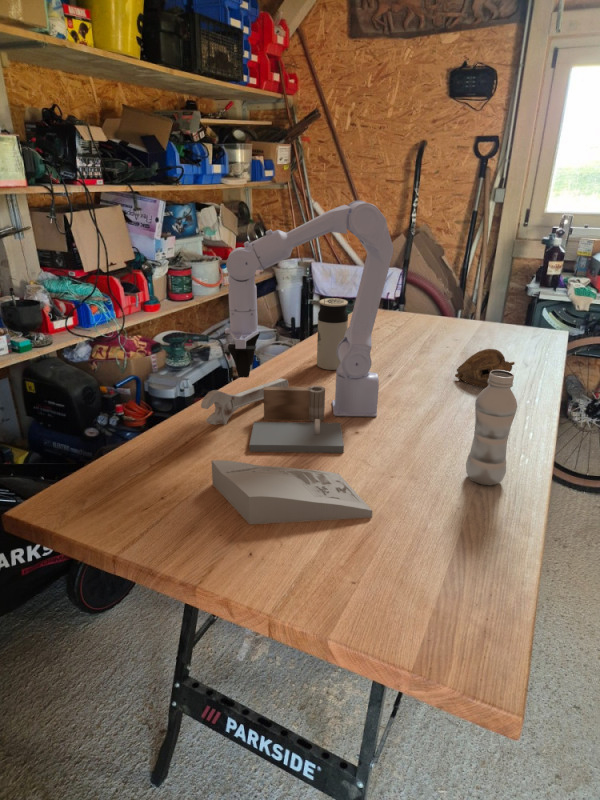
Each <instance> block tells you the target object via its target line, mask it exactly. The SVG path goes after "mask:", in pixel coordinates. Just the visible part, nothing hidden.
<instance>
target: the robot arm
mask: <svg viewBox="0 0 600 800" xmlns="http://www.w3.org/2000/svg"><path fill="white" fill-rule="evenodd" d="M348 231H349V232H350V233H351V234H352V235H354V236H355V237H356V238H357V239H358V240H359V242H360V244H361V245H362V247H363V249H364V250H365V252H366V254H367V255H366V257H365V261H364V266H363V269H362V274H361V277H360V282H359V285H358V288H357V289H358V290H357V295H356V298H355V301H354V306H353V309H352V314H351V318H350V323H349V324H348V325H349V326H348V328H347V330H346V332H345V336H344V338H343V340H342V341H341V342H340V343H339V345H338V347H337V356H338V358H339V360H340V362H341V363H340V365H339V367H338V368H337V369H336V370H335V372H336V374H335V393H334V395H335V397H334V399H333V400H331V402H332V403H331V404H332V410H333V415H334V417H377V416H378V414H377V412H378V403H379V400H378V399H379V388H380V387H379V386H380V385H379V374H378V372H372V371H370V370H371V367H372V363H373V362H372V357H371V351H372V344H373V342H372V335H373V334H372V333H373V330H374V326H375V323H376V320H377V319H376V318H377V315H378V311H379V307H380V303H381V300H382V296H383V292H384V289H385V288H384V287H385V285H386V281H387V277H388V273H389V270H390V266H391V261H392V258H393V254H394V244H393V242H392V238H391V234H390V231H389V227H388V220H387V218H386V217H385V215H384V214H383V213H382V211H381V210H380V209H379V208H378V207H377V206H376V205H374V204H373V203H371V202H370V203H369V202H366V201H364V200H354V201H352V202H350V203H347V204H343V205H339V206H337V207H334V208H333V209H329V210H327V211H325V212H323V213H322V214H320V215H318V216H316V217H314V218H312V219H310V220H309V221H307V222H304V223H303V224H301V225H299V226H297V227H295V228H293V229H291V230H288V232H285V231H282V230H280V229H276V230H274V231H273V230H272V229H271V228H270V229H269V230H266V231H265V235H263V236H262V237H259V238H258V239H256V240H253V241H252V242H249V240H248V241H245V242H244V243H243V246H244V247H242V246H241V247H239V246H238V247H236V248H234V249H233V250H231V251H230V253H229V255H228V256H227V257H228V258H227V259H226V263H225V264H226V265H225V267H226V272H227V273H228V284H229V285H228V287H227V290H228V305H229V306H228V310H229V327H226V328H225V329H224V333H225V334H226V335H227V334H229V335H230V336H231V337H232V338H233V340H235V342H234V343H229V344H228V346H227V349H228V352H229V354H230V356H231V358H232V360H233V361H234V366H235V369H236V373H237V376H238V378H249V377H250V374H251V373H250V372H251V366H252V365H253V363H254V362H253V361H254V357H255V351H256V348H257V341H258V340H259V337H260V335H261V332H260V331H259V327H258V325H259V324H258V322H259V321H258V297H257V296H258V295H257V294H258V293H257V291H258V290H257V285H256V277H255V276H256V273H257V271H263V270H265V269H268V268H270V267H272V266H274V265H277V264H278V263H280V262H282V261H284V260H286V259H289V258H290V257H291V256H292V252H293V249H294V248H297V247H299V246H302V245H303V244H305V243H308V242H311V241H313V240H315V239H317V238H320V237H322V236H324V235H327V234H329V233H338V234H344V235H347V234H348Z"/></svg>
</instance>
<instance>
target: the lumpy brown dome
mask: <svg viewBox="0 0 600 800" xmlns="http://www.w3.org/2000/svg"><path fill="white" fill-rule="evenodd" d="M514 365H516V364H515V361H511V362H509V361H506V359H505V356H504V354H503V353H502V351H500V350H499V349H495V348H486V349H482V350H479V351H477V352H475V353H474V354H472V355H471V356H469V357H468V358H466V360H465V361H464V362H463V363H462V364H461V365H460V366H458V368H456V372H458V373H457V374H454V377H455V378H459V379H460V380H461V381H463V382H465V383H467V384H469V385H471V386H474V387H479V388H484V389H485V388H486V387H487V386H488V385H489V384H488V383H487V381H488V379H489V374H490V371H492V370H504V371H508V372H511V371H512V369H513V366H514Z"/></svg>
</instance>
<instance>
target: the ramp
mask: <svg viewBox="0 0 600 800" xmlns="http://www.w3.org/2000/svg"><path fill="white" fill-rule="evenodd" d="M210 463H211V478H212V486H213V487H215V489H216V490H217V491H218V492H219V493H220V494H221V495H222V496H223V497H224V498H225V500H227V502H228V503H229V504H230V505H231V506H232V507H233V509H235V510H236V511H237V512H238V513H239V514H240V515H241V517H242V518H243V519H244V520H245V521H246V522H247V523H248V524H249V525H258V524H259V525H264V524H276V523H277V524H278V523H279V524H282V523H300V522H314V521H317V522H318V521H331V520H333V521H334V520H351V519H352V520H353V519H365V518H373V509H371V507H370V506H369V505H368V504H367V503H366V502H365V500H364V499H363V498H362V497H361V496H359V494H358V493H357V491H356V490H355V489H353V487H352V486H351V485H350V484H349V483H348V482H347V481H346V480H345V479H344V478H343V476H341V474H340V473H336V472H331V471H326V470H318V469H307V468H305V469H304V468H295V467H294V468H293V467H285V466H272V465H271V466H269V465H268V466H267V465H259V464H253V463H252V464H251V463H247V462H241V461H235V460H225V459H224V460H223V459H221V460H220V459H219V460H218V459H217V460H216V459H215V460H211V462H210Z"/></svg>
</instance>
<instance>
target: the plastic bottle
mask: <svg viewBox="0 0 600 800" xmlns="http://www.w3.org/2000/svg"><path fill="white" fill-rule="evenodd" d="M514 378H515V374H514V373H512V372H511V371H510V372H508V371H504V370H492V371H490V374H489V379H488V381H487V383H488V384H489V385H488V386H487V387H486V388H485V387H484V388H483V390H481V392H479V393H478V394H477V397H476V399H475V402H474V403H475V405H474V406H475V409H474V410H475V412H474V414H475V417H474V418H475V421H474V422H475V423H474V431H473V432H474V433H473V439H472V443H471V447H470V450H469V453H468V455H467V458H466V462H465V472H466V474H467V477H468V478H469V479H470V481H473V482H474V483H476V484H479V485H482V486H483V485H484V486H495V485H498V484H501V482H502V481H503V480H504V478H505V475H506V474H507V449H508V448H507V447H508V439H509V436H510V432H511V427H512V424H513V422H514V419H515V415H516V414H517V411H518V401H517V398H516V396H515V394H514V392H513V391H512V387H513V386H514Z"/></svg>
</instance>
